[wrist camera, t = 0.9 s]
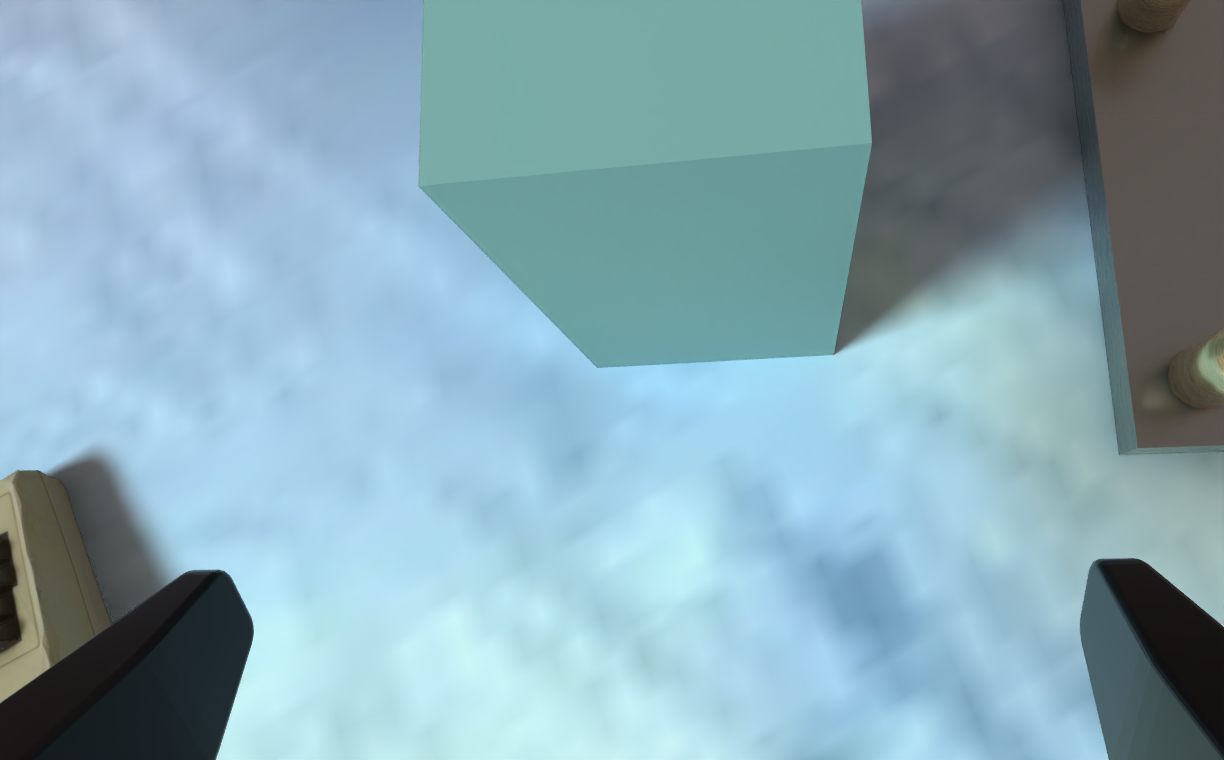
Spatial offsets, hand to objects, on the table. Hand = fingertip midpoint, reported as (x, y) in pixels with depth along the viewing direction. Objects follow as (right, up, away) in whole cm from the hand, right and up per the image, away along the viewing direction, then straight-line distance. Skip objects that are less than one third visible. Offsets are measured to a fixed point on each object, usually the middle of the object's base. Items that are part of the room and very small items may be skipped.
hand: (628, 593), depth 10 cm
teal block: (+2, +6, +15) cm, 16 cm away
